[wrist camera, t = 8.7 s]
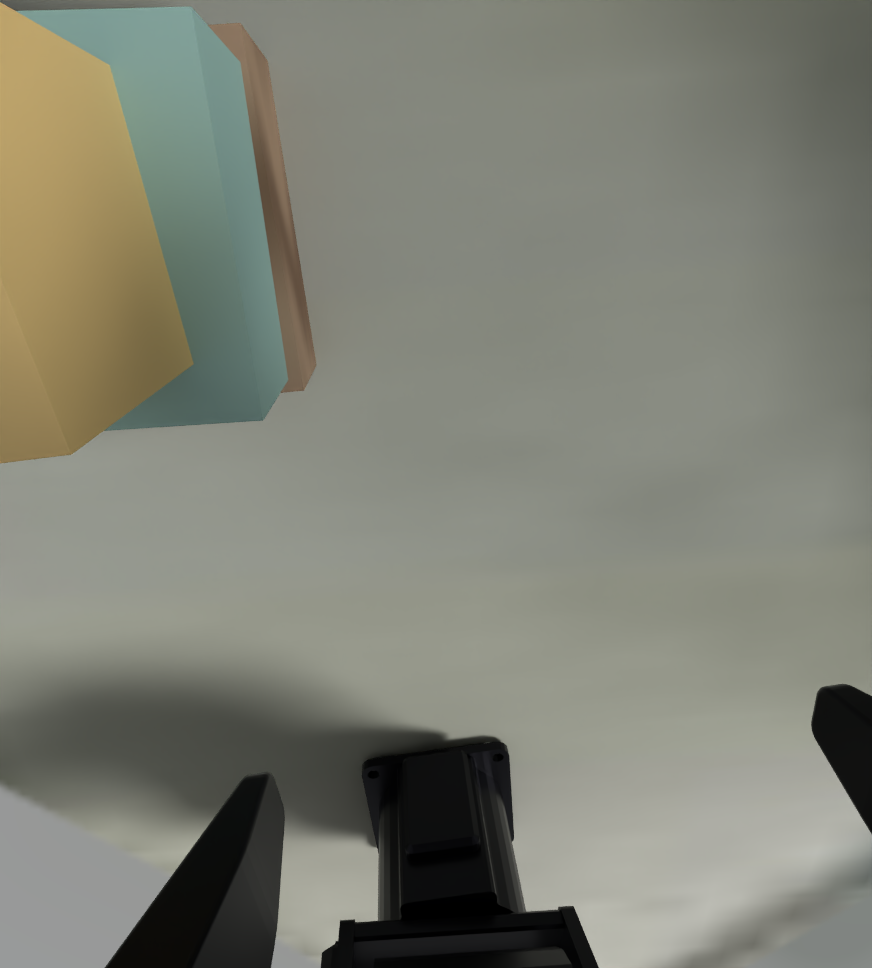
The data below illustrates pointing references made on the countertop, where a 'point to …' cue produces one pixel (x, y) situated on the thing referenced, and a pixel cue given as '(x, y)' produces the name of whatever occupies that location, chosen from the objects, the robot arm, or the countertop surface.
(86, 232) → the ochre block
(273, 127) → the tower base
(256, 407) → the tower top
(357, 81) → the countertop surface
